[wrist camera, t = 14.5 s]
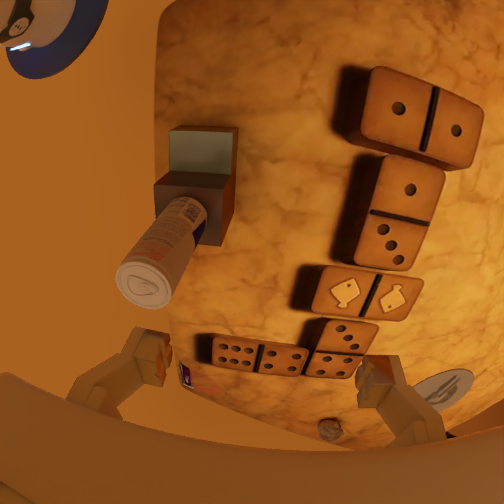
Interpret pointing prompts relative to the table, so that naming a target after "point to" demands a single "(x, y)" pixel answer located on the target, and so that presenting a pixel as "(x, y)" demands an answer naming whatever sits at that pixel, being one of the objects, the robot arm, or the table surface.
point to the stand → (202, 175)
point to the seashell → (330, 430)
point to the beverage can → (162, 254)
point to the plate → (445, 388)
